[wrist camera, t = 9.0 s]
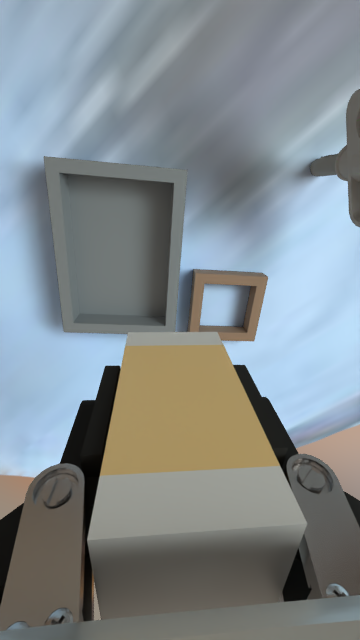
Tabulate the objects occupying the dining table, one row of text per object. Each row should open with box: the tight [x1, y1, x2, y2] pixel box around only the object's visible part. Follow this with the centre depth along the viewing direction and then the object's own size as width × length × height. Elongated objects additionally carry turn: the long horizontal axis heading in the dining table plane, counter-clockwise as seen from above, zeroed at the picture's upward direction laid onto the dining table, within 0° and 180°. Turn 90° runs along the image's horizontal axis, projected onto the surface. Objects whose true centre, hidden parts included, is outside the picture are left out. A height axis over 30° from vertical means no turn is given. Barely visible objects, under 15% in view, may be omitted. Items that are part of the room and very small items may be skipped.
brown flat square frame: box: [187, 269, 268, 341], centre depth 30 cm, size 8×8×2 cm
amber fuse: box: [87, 332, 307, 620], centre depth 9 cm, size 4×4×8 cm
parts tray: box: [44, 156, 187, 334], centre depth 26 cm, size 15×11×3 cm
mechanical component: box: [310, 89, 360, 227], centre depth 21 cm, size 3×10×10 cm, turn 17°
